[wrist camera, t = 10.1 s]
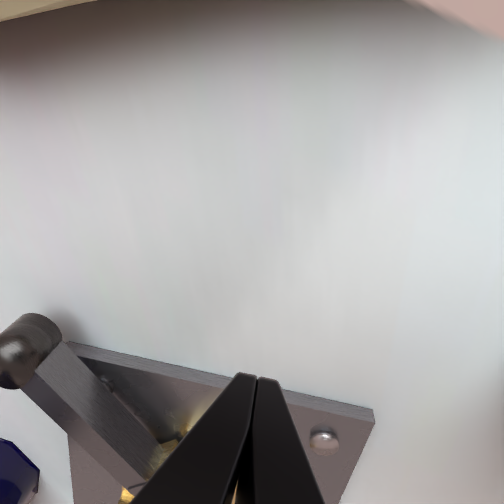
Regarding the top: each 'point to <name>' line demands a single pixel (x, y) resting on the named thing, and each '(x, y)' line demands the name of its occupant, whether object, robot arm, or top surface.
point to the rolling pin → (32, 7)
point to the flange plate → (192, 408)
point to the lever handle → (79, 402)
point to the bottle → (16, 475)
